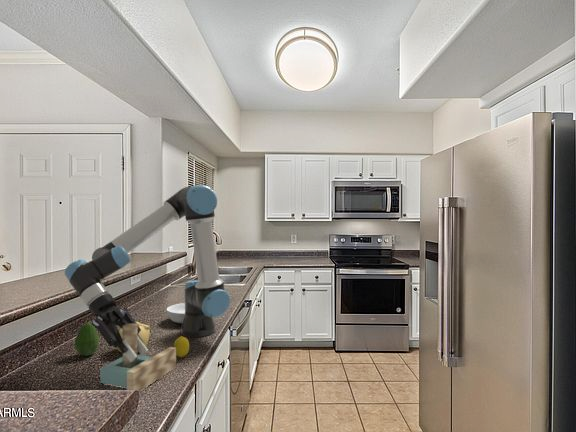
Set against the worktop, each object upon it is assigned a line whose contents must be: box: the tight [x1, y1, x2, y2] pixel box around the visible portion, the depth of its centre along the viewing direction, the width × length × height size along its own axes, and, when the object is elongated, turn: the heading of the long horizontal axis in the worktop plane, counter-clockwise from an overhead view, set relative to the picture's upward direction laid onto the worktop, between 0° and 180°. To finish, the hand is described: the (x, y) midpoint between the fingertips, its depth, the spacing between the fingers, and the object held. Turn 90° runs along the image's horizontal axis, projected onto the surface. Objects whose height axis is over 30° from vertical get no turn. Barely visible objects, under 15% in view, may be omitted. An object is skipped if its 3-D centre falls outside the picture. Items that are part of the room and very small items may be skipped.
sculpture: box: [116, 321, 151, 354], centre depth 137 cm, size 12×12×11 cm
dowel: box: [122, 323, 138, 368], centre depth 114 cm, size 4×4×14 cm
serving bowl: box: [166, 302, 185, 324], centre depth 174 cm, size 21×21×7 cm
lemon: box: [173, 335, 190, 359], centre depth 130 cm, size 6×6×8 cm
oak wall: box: [126, 346, 177, 393], centre depth 112 cm, size 20×2×7 cm, turn 162°
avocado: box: [74, 322, 100, 357], centre depth 133 cm, size 8×8×12 cm
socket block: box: [99, 354, 153, 388], centre depth 114 cm, size 12×12×5 cm
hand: (139, 356), depth 113 cm, fingers closed on dowel, 4 cm apart
